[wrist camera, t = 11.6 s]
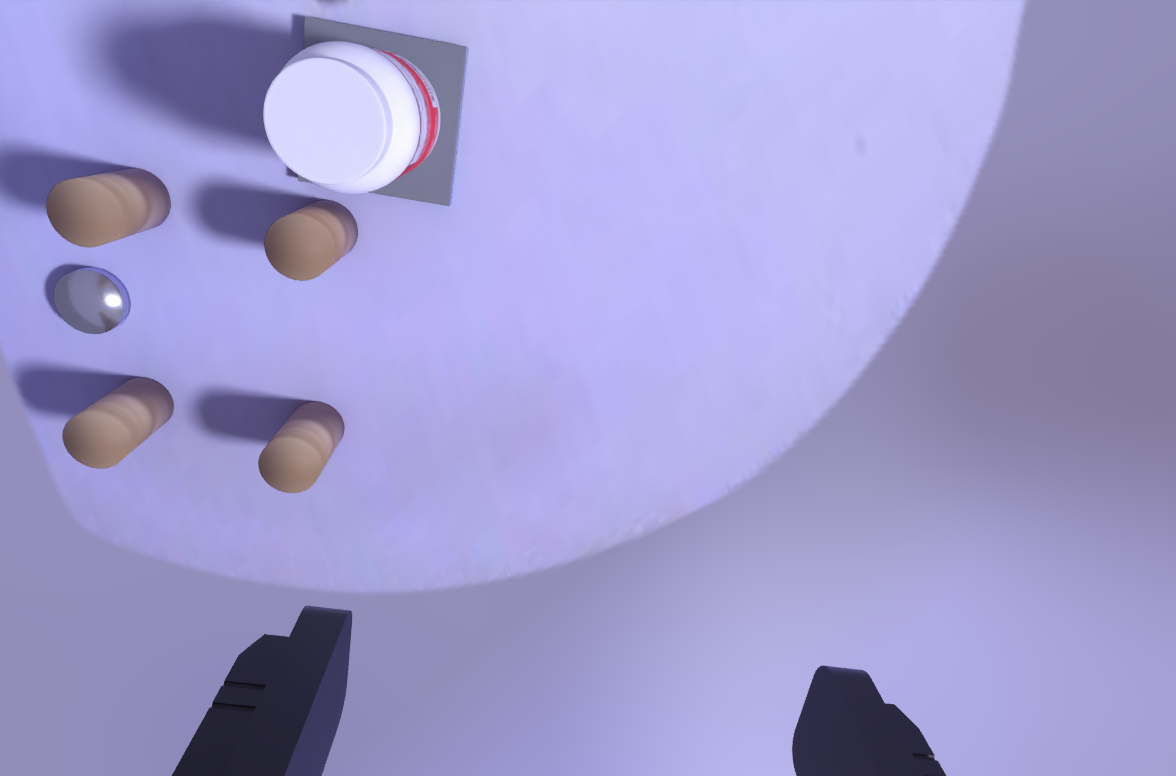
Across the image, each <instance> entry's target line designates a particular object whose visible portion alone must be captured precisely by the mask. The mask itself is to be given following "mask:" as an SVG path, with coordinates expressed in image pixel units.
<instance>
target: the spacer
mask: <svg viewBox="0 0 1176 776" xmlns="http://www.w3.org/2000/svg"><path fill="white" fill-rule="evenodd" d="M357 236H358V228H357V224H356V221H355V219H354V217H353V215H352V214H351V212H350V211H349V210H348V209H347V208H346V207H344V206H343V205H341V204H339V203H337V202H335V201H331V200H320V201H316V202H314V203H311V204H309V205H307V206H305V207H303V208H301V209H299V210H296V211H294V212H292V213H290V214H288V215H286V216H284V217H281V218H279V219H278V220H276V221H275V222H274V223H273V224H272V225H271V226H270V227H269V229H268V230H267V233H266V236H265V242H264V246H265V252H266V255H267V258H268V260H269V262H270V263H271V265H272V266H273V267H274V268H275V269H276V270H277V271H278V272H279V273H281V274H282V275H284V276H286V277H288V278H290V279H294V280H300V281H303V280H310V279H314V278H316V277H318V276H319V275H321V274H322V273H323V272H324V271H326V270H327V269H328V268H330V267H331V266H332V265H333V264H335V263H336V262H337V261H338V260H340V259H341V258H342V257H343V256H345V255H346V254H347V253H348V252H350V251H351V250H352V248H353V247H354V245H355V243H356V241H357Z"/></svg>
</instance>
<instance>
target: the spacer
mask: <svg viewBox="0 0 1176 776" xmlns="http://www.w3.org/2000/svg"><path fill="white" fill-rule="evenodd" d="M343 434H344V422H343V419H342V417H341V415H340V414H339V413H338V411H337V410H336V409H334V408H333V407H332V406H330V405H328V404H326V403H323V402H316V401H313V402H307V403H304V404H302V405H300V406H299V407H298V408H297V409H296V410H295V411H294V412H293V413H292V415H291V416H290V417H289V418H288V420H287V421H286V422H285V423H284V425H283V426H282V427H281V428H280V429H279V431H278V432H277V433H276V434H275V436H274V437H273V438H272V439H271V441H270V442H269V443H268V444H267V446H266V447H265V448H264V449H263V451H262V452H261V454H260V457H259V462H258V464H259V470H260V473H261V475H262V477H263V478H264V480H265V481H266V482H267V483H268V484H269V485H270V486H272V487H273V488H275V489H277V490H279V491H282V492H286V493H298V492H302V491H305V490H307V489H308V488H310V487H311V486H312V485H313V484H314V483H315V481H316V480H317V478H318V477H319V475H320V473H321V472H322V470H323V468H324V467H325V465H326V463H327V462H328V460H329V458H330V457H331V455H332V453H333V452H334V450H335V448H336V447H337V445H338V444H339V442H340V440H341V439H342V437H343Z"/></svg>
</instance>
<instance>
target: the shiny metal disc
mask: <svg viewBox="0 0 1176 776" xmlns="http://www.w3.org/2000/svg"><path fill="white" fill-rule="evenodd" d="M53 298H54V303H55V307H56V309H57V311H58V313H59V314H60V316H61V317H62V318H63V319H64V321H65V322H67V323H68V324H69V325H70V326H72V327H73V328H75V329H77V330H79V331H82V332H85V333H89V334H100V333H104V332H107V331H109V330H111V329H113V328H115V327H117V326H118V325H120V324H121V323H123V322H124V321H125V319H126V318H127V316H128V315H129V312H130V306H131V302H130V297H129V293H128V291H127V289H126V287H125V286H124V284H123V283H122V282H121V281H120V280H119V279H118V278H117V277H116V276H115V275H113V274H112V273H110V272H108V271H106V270H104V269H101V268H97V267H84V268H80V269H77V270H75V271H72V272H69V273H67V274H65V275H64V276H62V277H61V278H60V279H59V280H58V282H57V283H56V285H55V288H54V293H53Z"/></svg>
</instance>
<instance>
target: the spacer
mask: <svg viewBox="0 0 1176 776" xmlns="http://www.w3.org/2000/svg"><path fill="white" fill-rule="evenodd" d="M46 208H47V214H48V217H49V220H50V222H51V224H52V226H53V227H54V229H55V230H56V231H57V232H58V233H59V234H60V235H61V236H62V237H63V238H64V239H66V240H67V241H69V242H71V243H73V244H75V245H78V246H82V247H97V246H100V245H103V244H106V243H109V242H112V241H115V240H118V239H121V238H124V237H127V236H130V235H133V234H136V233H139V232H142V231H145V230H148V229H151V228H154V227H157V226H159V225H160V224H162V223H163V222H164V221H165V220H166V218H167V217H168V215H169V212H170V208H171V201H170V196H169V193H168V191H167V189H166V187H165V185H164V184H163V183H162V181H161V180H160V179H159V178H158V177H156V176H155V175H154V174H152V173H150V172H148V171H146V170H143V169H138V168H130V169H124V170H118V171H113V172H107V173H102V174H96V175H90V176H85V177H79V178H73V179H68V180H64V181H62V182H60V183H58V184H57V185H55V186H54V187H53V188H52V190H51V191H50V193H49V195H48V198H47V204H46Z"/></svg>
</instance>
